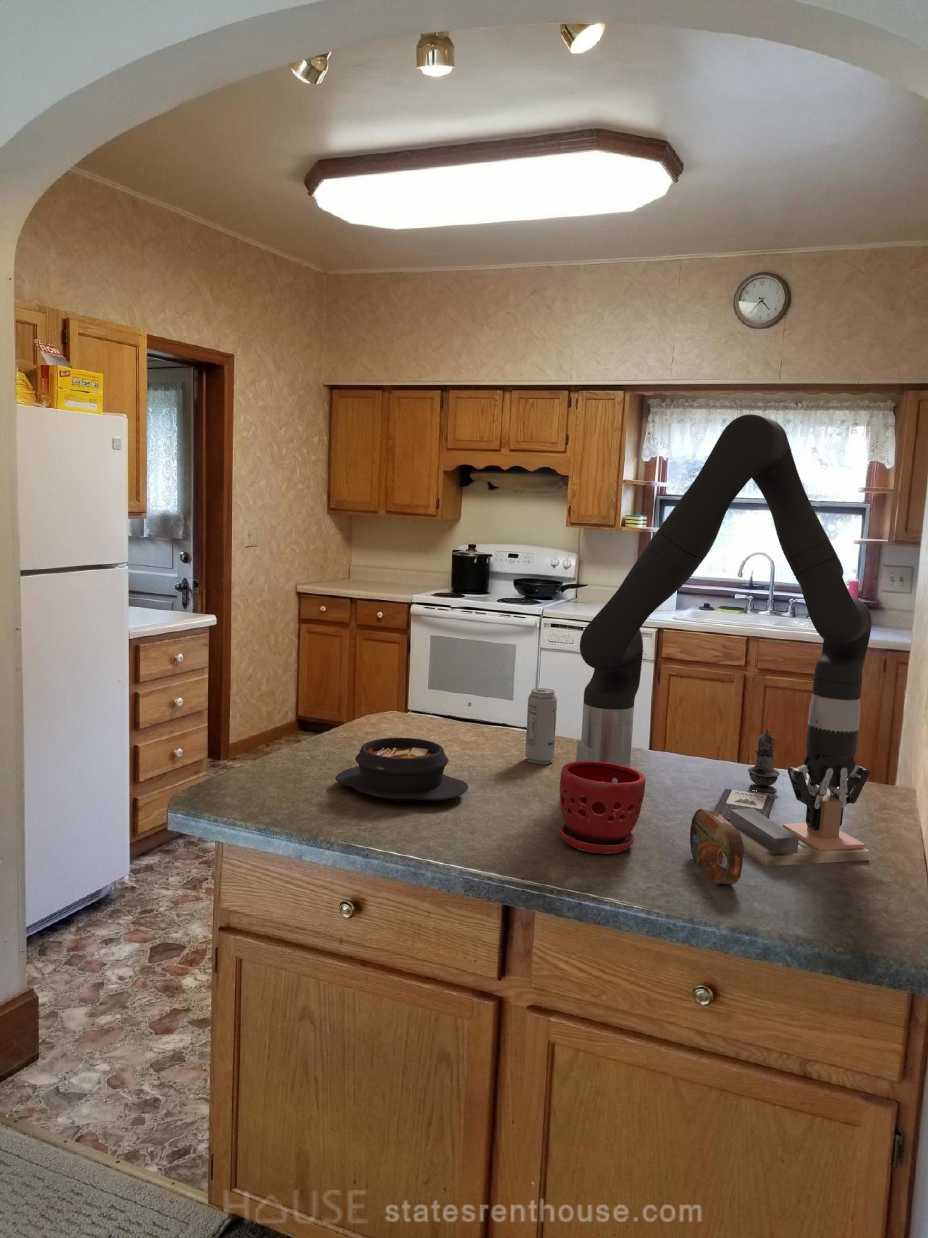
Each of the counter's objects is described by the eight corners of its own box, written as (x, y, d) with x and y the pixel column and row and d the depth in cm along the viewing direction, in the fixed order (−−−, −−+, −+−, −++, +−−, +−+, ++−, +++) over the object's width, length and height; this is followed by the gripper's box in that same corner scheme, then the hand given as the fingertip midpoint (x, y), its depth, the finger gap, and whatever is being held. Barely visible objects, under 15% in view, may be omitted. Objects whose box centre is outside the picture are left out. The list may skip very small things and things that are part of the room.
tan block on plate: (819, 850, 137) (823, 809, 136) (782, 827, 147) (785, 788, 146) (864, 848, 139) (868, 807, 138) (825, 825, 149) (828, 787, 148)
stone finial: (774, 785, 175) (779, 726, 174) (781, 795, 170) (786, 733, 168) (743, 783, 176) (748, 724, 174) (750, 793, 170) (755, 731, 169)
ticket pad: (766, 867, 134) (769, 838, 133) (723, 836, 146) (725, 809, 146) (870, 861, 138) (873, 833, 137) (819, 831, 150) (821, 805, 150)
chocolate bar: (710, 816, 154) (725, 788, 171) (710, 821, 154) (724, 793, 171) (764, 825, 151) (774, 796, 167) (764, 831, 151) (774, 801, 167)
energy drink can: (555, 765, 183) (558, 694, 181) (525, 764, 183) (529, 693, 182) (552, 757, 189) (556, 688, 187) (524, 756, 189) (527, 687, 187)
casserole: (314, 795, 159) (315, 749, 158) (366, 769, 176) (368, 727, 175) (441, 819, 149) (443, 770, 148) (483, 789, 166) (485, 745, 165)
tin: (686, 853, 138) (690, 800, 137) (706, 853, 139) (710, 801, 138) (722, 895, 124) (727, 836, 123) (744, 895, 124) (749, 836, 123)
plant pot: (621, 867, 132) (627, 788, 130) (542, 846, 139) (546, 772, 137) (652, 841, 143) (657, 768, 141) (578, 823, 150) (582, 754, 148)
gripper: (808, 730, 135) (798, 839, 138) (888, 728, 139) (876, 835, 141) (780, 718, 143) (771, 822, 145) (856, 717, 146) (846, 819, 148)
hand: (823, 828), depth 143 cm, fingers closed on tan block on plate, 3 cm apart
